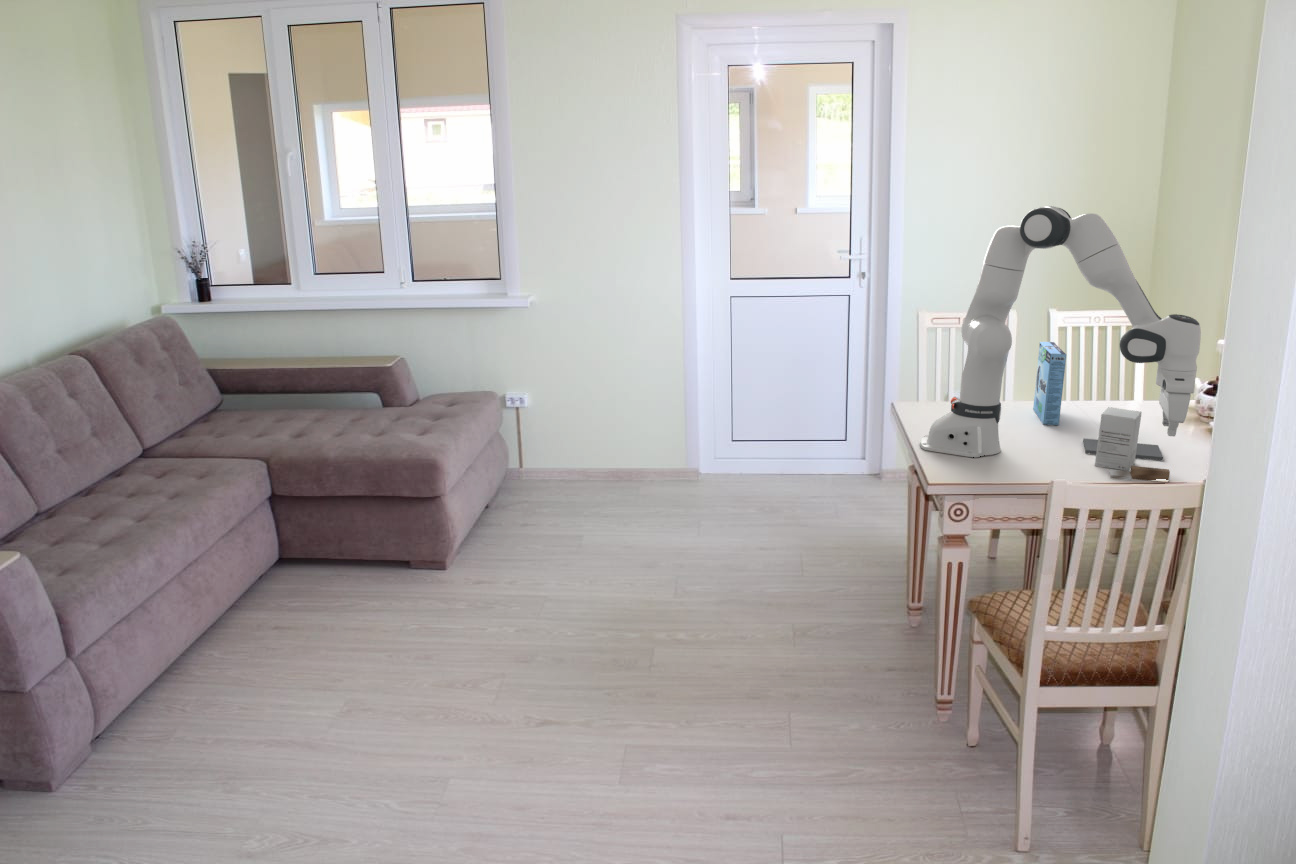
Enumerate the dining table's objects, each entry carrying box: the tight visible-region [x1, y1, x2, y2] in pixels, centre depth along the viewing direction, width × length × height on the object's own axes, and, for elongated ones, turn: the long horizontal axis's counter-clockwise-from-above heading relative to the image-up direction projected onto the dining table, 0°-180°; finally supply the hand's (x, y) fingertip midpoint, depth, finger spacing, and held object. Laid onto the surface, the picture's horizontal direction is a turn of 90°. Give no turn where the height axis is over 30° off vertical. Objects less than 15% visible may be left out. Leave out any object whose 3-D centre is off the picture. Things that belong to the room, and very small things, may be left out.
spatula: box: [1108, 465, 1171, 481], centre depth 263 cm, size 14×5×3 cm, turn 70°
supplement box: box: [1094, 406, 1143, 471], centre depth 272 cm, size 9×9×15 cm
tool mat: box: [1082, 438, 1164, 461], centre depth 286 cm, size 20×12×1 cm, turn 70°
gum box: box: [1032, 341, 1067, 426], centre depth 317 cm, size 20×5×23 cm, turn 168°
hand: (1168, 430), depth 258 cm, fingers open, 8 cm apart
